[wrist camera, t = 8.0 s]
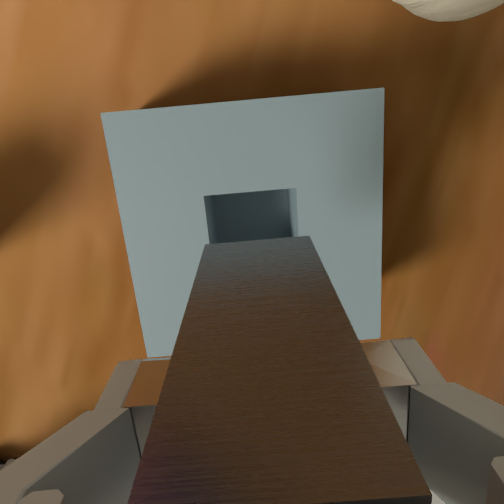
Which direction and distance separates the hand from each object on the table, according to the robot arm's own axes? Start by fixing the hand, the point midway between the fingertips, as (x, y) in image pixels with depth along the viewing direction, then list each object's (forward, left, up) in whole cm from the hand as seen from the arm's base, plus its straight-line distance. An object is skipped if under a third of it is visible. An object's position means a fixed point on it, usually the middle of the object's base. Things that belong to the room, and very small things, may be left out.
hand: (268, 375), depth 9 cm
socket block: (0, 0, -17) cm, 17 cm away
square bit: (0, 0, -5) cm, 5 cm away
